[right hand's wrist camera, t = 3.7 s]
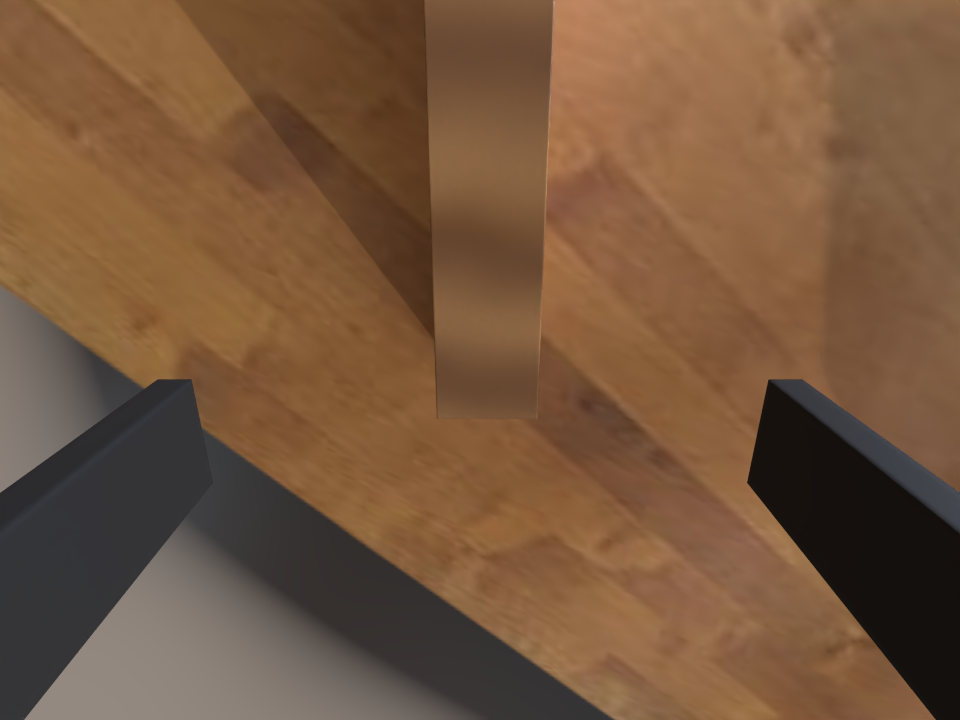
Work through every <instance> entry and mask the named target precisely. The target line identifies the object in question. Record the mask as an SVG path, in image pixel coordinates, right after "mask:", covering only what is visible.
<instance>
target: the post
mask: <svg viewBox="0 0 960 720" xmlns="http://www.w3.org/2000/svg"><path fill="white" fill-rule="evenodd" d="M554 4H555V0H424V28H425V59H426V91H427V123H428V154H429V186H430V217H431V249H432V280H433V312H434V344H435V375H436V407H437V419H537V408H538V385H539V361H540V337H541V313H542V289H543V266H544V242H545V218H546V194H547V170H548V147H549V123H550V99H551V75H552V51H553V28H554Z"/></svg>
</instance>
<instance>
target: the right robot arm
mask: <svg viewBox="0 0 960 720" xmlns="http://www.w3.org/2000/svg"><path fill="white" fill-rule="evenodd" d="M212 483H213V481H212V477H211V472H210V467H209V462H208V457H207V452H206V447H205V443H204V438H203V433H202V428H201V423H200V418H199V414H198V409H197V404H196V399H195V394H194V389H193V385H192V380H156V381H155V382H154V383H152V384H151V385H149V386H148V387H147V388H145V389H144V390H143V391H141V392H140V393H138V394H137V395H136V396H134V397H133V398H131V399H130V400H129V401H127V402H126V403H124V404H123V405H122V406H120V407H119V408H118V409H116V410H115V411H113V412H112V413H111V414H109V415H108V416H106V417H105V418H104V419H102V420H101V421H100V422H98V423H97V424H95V425H94V426H93V427H91V428H90V429H88V430H87V431H86V432H84V433H83V434H81V435H80V436H79V437H77V438H76V439H75V440H73V441H72V442H70V443H69V444H68V445H66V446H65V447H63V448H62V449H61V450H59V451H58V452H56V453H55V454H54V455H52V456H51V457H50V458H48V459H47V460H45V461H44V462H43V463H41V464H40V465H38V466H37V467H36V468H34V469H33V470H32V471H30V472H29V473H27V474H26V475H25V476H23V477H22V478H20V479H19V480H18V481H16V482H15V483H13V484H12V485H11V486H9V487H8V488H7V489H5V490H4V491H2V492H1V493H0V720H24V719H25V718H26V717H27V715H28V714H29V713H30V711H31V710H32V709H33V708H34V707H35V705H36V704H37V703H38V701H39V700H40V699H41V698H42V696H43V695H44V694H45V693H46V691H47V690H48V689H49V688H50V686H51V685H52V684H53V683H54V681H55V680H56V679H57V678H58V676H59V675H60V674H61V673H62V671H63V670H64V669H65V668H66V666H67V665H68V664H69V663H70V661H71V660H72V659H73V658H74V656H75V655H76V654H77V653H78V651H79V650H80V649H81V647H82V646H83V645H84V644H85V643H86V641H87V640H88V639H89V637H90V636H91V635H92V634H93V632H94V631H95V630H96V629H97V627H98V626H99V625H100V624H101V622H102V621H103V620H104V619H105V617H106V616H107V615H108V614H109V612H110V611H111V610H112V609H113V607H114V606H115V605H116V604H117V602H118V601H119V600H120V599H121V597H122V596H123V595H124V594H125V592H126V591H127V590H128V589H129V587H130V586H131V585H132V584H133V582H134V581H135V580H136V579H137V577H138V576H139V575H140V573H141V572H142V571H143V570H144V568H145V567H146V566H147V565H148V563H149V562H150V561H151V560H152V558H153V557H154V556H155V555H156V553H157V552H158V551H159V550H160V548H161V547H162V546H163V545H164V543H165V542H166V541H167V540H168V538H169V537H170V536H171V535H172V533H173V532H174V531H175V530H176V528H177V527H178V526H179V525H180V523H181V522H182V521H183V519H184V518H185V517H186V516H187V514H188V513H189V512H190V511H191V509H192V508H193V507H194V506H195V504H196V503H197V502H198V501H199V499H200V498H201V497H202V496H203V494H204V493H205V492H206V491H207V489H208V488H209V487H210V486H211V484H212ZM747 483H748V484H749V486H750V487H751V488H752V489H753V491H754V492H755V493H756V494H757V496H758V497H759V498H760V499H761V501H762V502H763V503H764V504H765V506H766V507H767V508H768V509H769V511H770V512H771V513H772V514H773V516H774V517H775V518H776V520H777V521H778V522H779V523H780V525H781V526H782V527H783V528H784V530H785V531H786V532H787V533H788V535H789V536H790V537H791V538H792V540H793V541H794V542H795V543H796V545H797V546H798V547H799V548H800V550H801V551H802V552H803V553H804V555H805V556H806V557H807V558H808V560H809V561H810V562H811V563H812V565H813V566H814V567H815V568H816V570H817V571H818V572H819V573H820V575H821V576H822V577H823V579H824V580H825V581H826V582H827V584H828V585H829V586H830V587H831V589H832V590H833V591H834V592H835V594H836V595H837V596H838V597H839V599H840V600H841V601H842V602H843V604H844V605H845V606H846V607H847V609H848V610H849V611H850V612H851V614H852V615H853V616H854V617H855V619H856V620H857V621H858V622H859V624H860V625H861V626H862V627H863V629H864V630H865V631H866V632H867V634H868V635H869V636H870V637H871V639H872V640H873V641H874V643H875V644H876V645H877V646H878V648H879V649H880V650H881V651H882V653H883V654H884V655H885V656H886V658H887V659H888V660H889V661H890V663H891V664H892V665H893V666H894V668H895V669H896V670H897V671H898V673H899V674H900V675H901V676H902V678H903V679H904V680H905V681H906V683H907V684H908V685H909V686H910V688H911V689H912V690H913V691H914V693H915V694H916V695H917V696H918V698H919V699H920V700H921V701H922V703H923V704H924V705H925V707H926V708H927V709H928V710H929V712H930V713H931V714H932V715H933V717H934V718H935V719H936V720H960V492H958V491H956V490H955V489H954V488H952V487H951V486H949V485H948V484H947V483H945V482H944V481H942V480H941V479H940V478H938V477H937V476H935V475H934V474H933V473H931V472H930V471H929V470H927V469H926V468H924V467H923V466H922V465H920V464H919V463H917V462H916V461H915V460H913V459H912V458H910V457H909V456H908V455H906V454H905V453H904V452H902V451H901V450H899V449H898V448H897V447H895V446H894V445H892V444H891V443H890V442H888V441H887V440H885V439H884V438H883V437H881V436H880V435H879V434H877V433H876V432H874V431H873V430H872V429H870V428H869V427H867V426H866V425H865V424H863V423H862V422H861V421H859V420H858V419H856V418H855V417H854V416H852V415H851V414H849V413H848V412H847V411H845V410H844V409H842V408H841V407H840V406H838V405H837V404H836V403H834V402H833V401H831V400H830V399H829V398H827V397H826V396H824V395H823V394H822V393H820V392H819V391H817V390H816V389H815V388H813V387H812V386H811V385H809V384H808V383H806V382H805V381H804V380H768V385H767V389H766V394H765V399H764V404H763V409H762V414H761V418H760V423H759V428H758V433H757V438H756V443H755V447H754V452H753V457H752V462H751V467H750V472H749V476H748V481H747Z"/></svg>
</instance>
